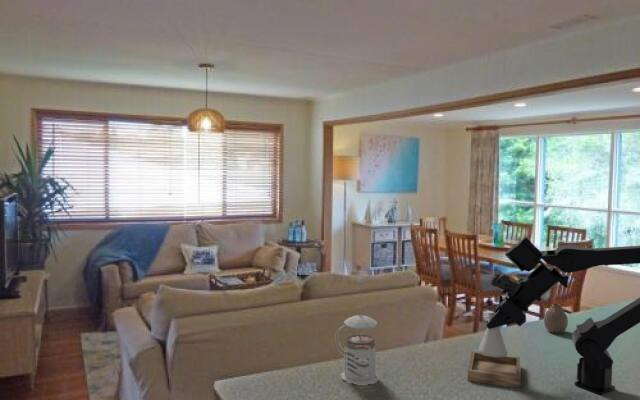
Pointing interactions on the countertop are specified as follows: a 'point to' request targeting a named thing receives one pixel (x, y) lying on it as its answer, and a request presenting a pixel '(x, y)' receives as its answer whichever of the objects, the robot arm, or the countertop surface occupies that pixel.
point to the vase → (555, 319)
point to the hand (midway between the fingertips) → (487, 325)
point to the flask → (492, 342)
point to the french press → (361, 369)
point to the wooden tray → (495, 370)
